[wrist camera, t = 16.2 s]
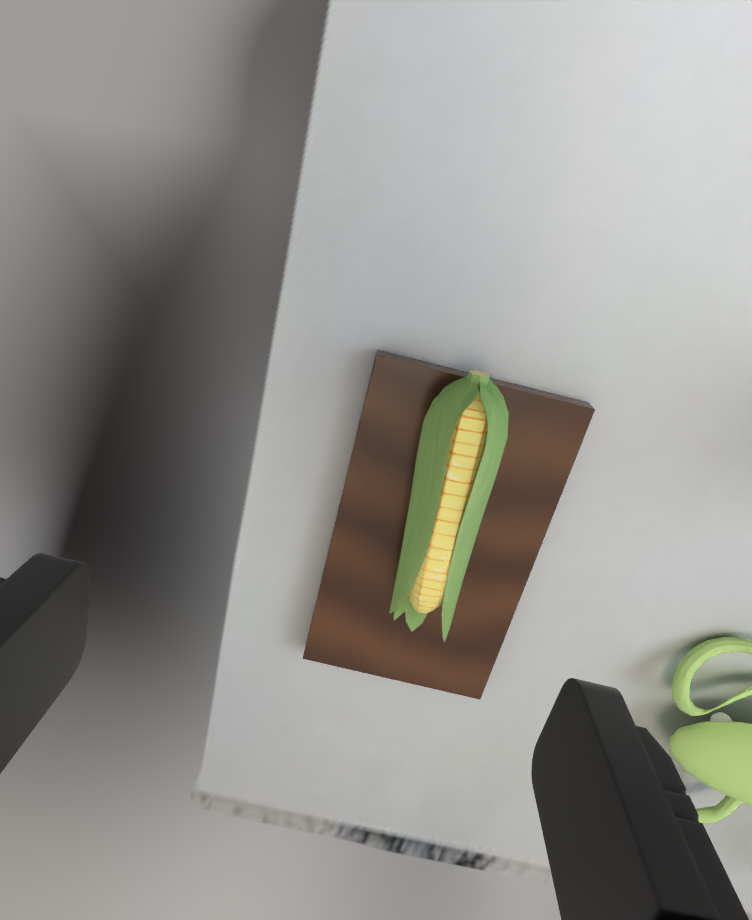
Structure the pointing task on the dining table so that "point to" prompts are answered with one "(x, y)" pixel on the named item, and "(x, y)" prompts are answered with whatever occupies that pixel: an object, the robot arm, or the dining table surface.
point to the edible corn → (449, 496)
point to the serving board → (384, 519)
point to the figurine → (714, 735)
